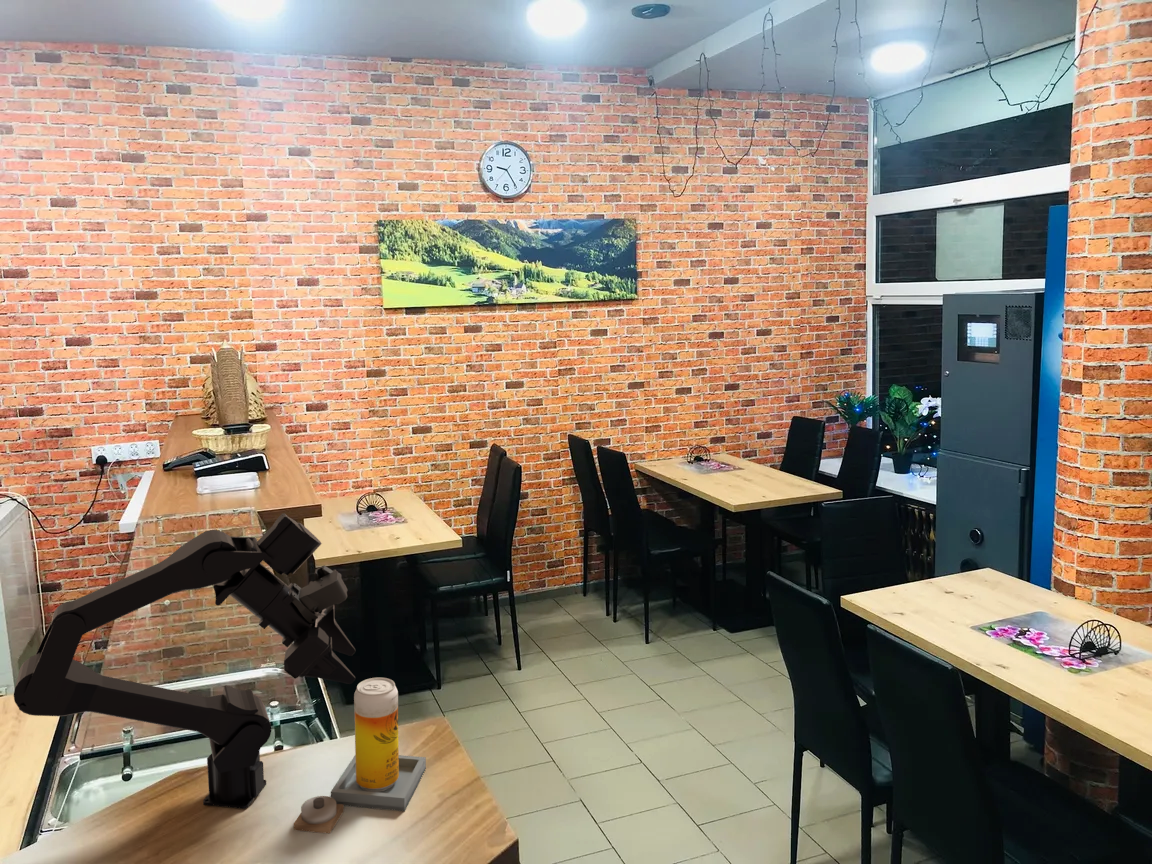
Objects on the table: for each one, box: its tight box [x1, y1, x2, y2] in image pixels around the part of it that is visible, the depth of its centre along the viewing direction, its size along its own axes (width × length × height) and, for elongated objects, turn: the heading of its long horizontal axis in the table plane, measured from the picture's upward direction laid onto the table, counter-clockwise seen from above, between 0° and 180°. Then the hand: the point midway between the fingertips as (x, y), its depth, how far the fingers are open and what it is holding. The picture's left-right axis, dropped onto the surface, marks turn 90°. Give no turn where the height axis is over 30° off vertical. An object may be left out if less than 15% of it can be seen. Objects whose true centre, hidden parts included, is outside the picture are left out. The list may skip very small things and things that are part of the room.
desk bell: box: [293, 795, 345, 834], centre depth 120 cm, size 5×5×3 cm
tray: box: [330, 754, 427, 812], centre depth 128 cm, size 11×11×2 cm
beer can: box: [353, 677, 400, 792], centre depth 127 cm, size 6×6×15 cm
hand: (353, 666), depth 127 cm, fingers open, 9 cm apart
